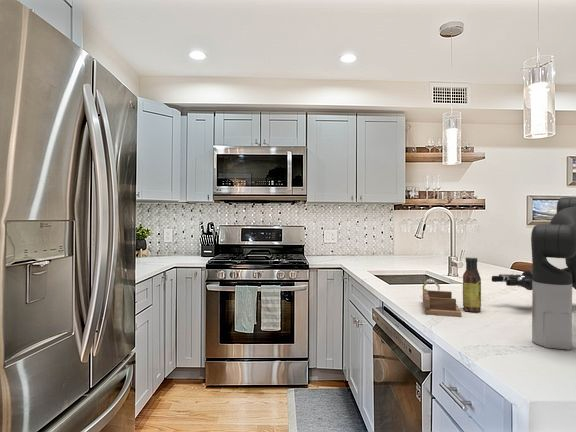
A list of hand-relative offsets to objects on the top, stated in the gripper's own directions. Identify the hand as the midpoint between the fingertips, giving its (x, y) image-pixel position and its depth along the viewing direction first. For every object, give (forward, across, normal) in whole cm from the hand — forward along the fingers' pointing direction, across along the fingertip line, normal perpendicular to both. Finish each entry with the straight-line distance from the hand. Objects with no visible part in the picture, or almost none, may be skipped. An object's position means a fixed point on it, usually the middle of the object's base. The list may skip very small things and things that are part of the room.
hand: (499, 280), depth 149 cm
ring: (+15, -24, +11) cm, 31 cm away
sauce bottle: (+11, 0, +11) cm, 16 cm away
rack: (+22, -4, +11) cm, 24 cm away
